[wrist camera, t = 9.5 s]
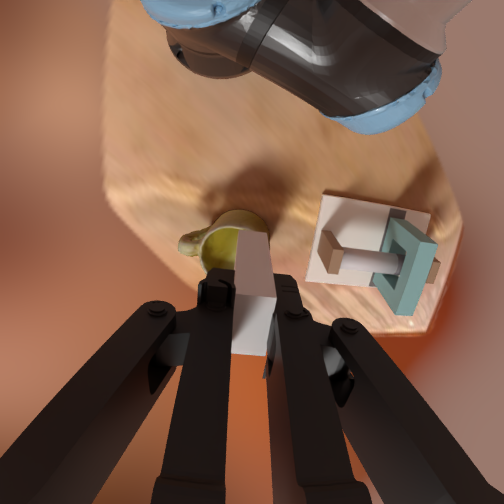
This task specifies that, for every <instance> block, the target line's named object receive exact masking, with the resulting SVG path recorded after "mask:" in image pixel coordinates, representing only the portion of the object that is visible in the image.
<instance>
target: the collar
mask: <svg viewBox="0 0 504 504" xmlns="http://www.w3.org/2000/svg"><path fill="white" fill-rule="evenodd" d="M437 247H438V244H437V243H436V242H434V241H433V240H432V239H431V238H429V237H428V236H427V235H425V234H424V233H423V232H422V231H420V230H419V229H418V228H416V227H415V226H414V225H412V224H411V223H410V222H408V221H407V220H403V219H397V218H392V217H390V221H389V225H388V229H387V233H386V236H385V240H384V244H383V247H382V251H381V252H387V253H394V254H402V255H405V254H406V256H405V260H404V263H403V266H402V269H401V272H400V275H394V274H385V273H375V275H374V278H373V283H374V284H375V285H376V287H377V288H378V290H379V291H380V293H381V294H382V296H383V297H384V299H385V300H386V302H387V303H388V305H389V307H390V308H391V310H392V311H393V313H394V314H395V315H403V316H413V313H414V311H415V308H416V306H417V303H418V301H419V298H420V295H421V293H422V290H423V287H424V285H425V282H426V279H427V276H428V274H429V271H430V268H431V265H432V262H433V259H434V256H435V253H436V250H437ZM406 251H407V253H406Z"/></svg>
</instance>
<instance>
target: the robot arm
mask: <svg viewBox="0 0 504 504" xmlns="http://www.w3.org/2000/svg"><path fill="white" fill-rule="evenodd" d="M140 1H141V3H142V4H143V7H144V9H145V10H146V11H147V13H148V14H149V15H150V17H151V18H152V19H154V20H156V21H157V22H158V23H159V24H161V25H162V26H163V27H164V28H165V29H166V34H167V41H168V44H169V47H170V49H171V51H172V53H173V55H174V56H175V57H176V59H177V60H178V61H179V62H180V63H181V64H182V65H184V66H185V67H186V68H187V69H189V70H190V71H192V72H194V73H196V74H198V75H201V76H204V77H208V78H213V79H229V78H235V77H239V76H242V75H245V74H247V73H249V72H251V71H253V72H255V73H257V74H259V75H261V76H262V77H264V78H266V79H268V80H270V81H271V82H273V83H275V84H277V85H278V86H280V87H282V88H284V89H285V90H287V91H289V92H290V93H292V94H294V95H295V96H297V97H299V98H300V99H302V100H304V101H305V102H307V103H308V104H310V105H312V106H313V107H315V108H316V109H318V110H319V112H320V113H321V114H322V115H323V116H325V117H326V118H330V119H331V120H335V121H337V122H339V123H340V124H342V125H343V126H345V127H347V128H348V129H350V130H351V131H353V132H356V133H360V134H365V135H372V134H378V133H382V132H385V131H388V130H390V129H392V128H394V127H396V126H398V125H400V124H401V123H403V122H405V121H406V120H407V119H409V118H410V117H412V116H413V115H414V114H415V113H416V112H418V111H419V110H420V109H421V107H423V106H424V104H425V103H426V101H425V98H427V97H428V96H430V95H432V94H433V93H434V92H435V90H436V88H437V86H438V85H439V82H440V79H441V75H442V68H441V64H440V62H439V59H438V57H439V56H441V55H442V54H443V53H444V52H445V50H446V37H445V27H446V24H447V23H448V22H449V21H450V20H451V19H452V18H453V17H454V16H455V15H457V14H458V13H459V12H460V11H461V10H462V9H463V8H464V7H465V6H467V5H468V4H469V3H470V2H471V1H472V0H140ZM266 350H267V353H268V355H267V360H266V365H265V369H264V374H263V378H264V379H265V378H266V382H267V398H268V415H269V433H270V450H271V468H272V488H273V504H372V501H371V497H370V493H369V490H368V488H367V486H366V485H365V484H364V483H363V482H360V481H356V479H355V478H354V475H353V472H352V468H351V464H350V459H349V455H348V451H347V447H346V442H345V438H344V434H343V431H344V433H345V435H346V437H347V438H348V440H349V442H350V444H351V445H352V447H353V449H354V451H355V453H356V454H357V456H358V458H359V460H360V462H361V463H362V465H363V467H364V469H365V470H366V472H367V474H368V476H369V477H370V479H371V481H372V483H373V485H374V486H375V488H376V490H377V492H378V494H379V495H380V497H381V499H382V501H383V502H384V504H504V494H502V493H501V492H500V491H498V490H497V489H495V488H494V487H493V486H491V485H490V484H488V482H487V481H486V480H485V478H484V477H483V476H482V474H481V473H480V471H479V470H478V469H477V467H476V466H475V465H474V464H473V462H472V461H471V459H470V458H469V457H468V455H467V454H466V453H465V452H464V450H463V449H462V447H461V446H460V445H459V444H458V442H457V441H456V440H455V438H454V437H453V436H452V435H451V433H450V432H449V431H448V429H447V428H446V427H445V425H444V424H443V423H442V422H441V420H440V419H439V418H438V416H437V415H436V414H435V413H434V411H433V410H432V409H431V408H430V406H429V405H428V404H427V402H426V401H425V400H424V399H423V397H422V396H421V395H420V394H419V393H418V391H417V390H416V389H415V388H414V386H413V385H412V384H411V383H410V381H409V380H408V379H407V378H406V376H405V375H404V374H403V373H402V371H401V370H400V369H399V368H398V367H397V365H396V364H395V363H394V362H393V360H392V359H391V358H390V357H389V356H388V354H387V353H386V352H385V351H384V350H383V348H382V347H381V346H380V345H379V344H378V342H377V341H376V340H375V339H374V338H373V336H372V335H371V334H370V333H369V332H368V331H367V329H366V328H365V327H364V326H363V325H362V324H361V323H360V322H358V321H356V320H354V319H350V318H338V319H336V320H334V321H333V323H332V326H329V325H325V324H321V323H318V322H316V321H314V320H313V318H312V315H311V313H310V312H309V311H308V310H307V309H306V308H304V307H303V304H302V301H301V297H300V293H299V289H298V286H297V282H296V280H295V279H294V278H293V277H292V276H291V275H285V274H275V273H273V269H272V263H271V256H270V250H269V243H268V237H267V233H264V232H255V231H246V230H239V232H238V240H237V249H236V257H235V266H234V270H230V269H221V268H212V269H211V270H210V271H208V272H207V276H206V278H205V279H203V280H201V281H200V282H199V284H198V298H197V307H195V308H193V309H191V310H188V311H179V312H176V310H175V307H174V306H173V305H172V304H170V303H168V302H164V301H150V302H146V303H144V304H143V305H141V306H140V307H139V309H137V310H136V311H135V312H134V313H133V314H132V315H131V316H130V317H129V319H127V320H126V322H125V323H124V324H123V325H122V326H121V327H120V328H119V329H118V330H117V331H116V332H115V333H114V334H113V335H112V336H111V337H110V338H109V339H108V340H107V341H106V342H105V343H104V344H103V345H102V346H101V348H99V350H98V351H96V353H95V354H94V355H93V356H92V357H91V358H90V359H89V360H88V361H87V362H86V363H85V364H84V365H83V366H82V367H81V368H80V370H79V371H78V372H77V373H76V374H75V375H74V376H73V377H72V378H71V379H70V380H69V381H68V383H66V385H65V386H64V387H63V388H62V389H61V390H60V391H59V392H58V393H57V394H56V395H55V397H54V398H53V399H52V400H51V401H50V402H49V403H48V405H46V406H45V408H44V409H43V410H42V411H41V412H40V413H39V414H38V415H37V417H36V418H35V419H34V420H33V421H32V422H31V423H30V425H29V426H28V427H27V428H26V429H25V430H24V431H23V432H22V434H21V435H20V436H19V437H18V438H17V439H16V441H15V442H14V443H13V444H12V445H11V446H10V448H9V449H8V450H7V451H6V452H5V453H4V454H3V456H2V457H1V458H0V504H92V502H93V501H94V499H95V497H96V496H97V494H98V493H99V491H100V490H101V488H102V486H103V485H104V483H105V481H106V480H107V479H108V477H109V475H110V474H111V472H112V471H113V469H114V467H115V466H116V464H117V463H118V461H119V459H120V458H121V456H122V455H123V453H124V451H125V450H126V448H127V446H128V445H129V443H130V442H131V440H132V439H133V437H134V436H135V434H136V432H137V431H138V429H139V428H140V426H141V424H142V423H143V421H144V420H145V418H146V416H147V415H148V413H149V412H150V410H151V409H152V407H153V405H154V404H155V402H156V400H157V399H158V397H159V396H160V394H161V393H162V391H163V389H164V388H165V386H166V385H167V383H168V382H169V380H170V378H171V376H172V375H173V374H174V372H175V370H176V367H177V366H179V365H183V367H182V372H181V376H180V381H179V386H178V391H177V395H176V400H175V404H174V409H173V414H172V419H171V424H170V429H169V434H168V439H167V444H166V449H165V454H164V459H163V465H162V470H161V474H160V476H158V477H157V478H156V481H155V485H154V488H153V493H152V499H151V504H225V493H226V491H225V490H226V488H225V464H226V441H227V421H228V420H227V419H228V402H229V382H230V365H231V353H235V354H246V355H258V356H265V354H266ZM350 372H352V374H353V376H354V377H353V376H352V374H351V373H350ZM342 429H343V430H342Z"/></svg>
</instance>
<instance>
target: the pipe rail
mask: <svg viewBox="0 0 504 504" xmlns="http://www.w3.org/2000/svg"><path fill="white" fill-rule="evenodd" d="M390 217H392V218H397V219H403V220H407V221H408V222H410V223H411V224H412V225H414V226H415V227H416V228H418V229H419V230H420V231H422V232H423V233H424V234H425V235H426V232H427V228H428V225H429V221H430V217H431V214H429V213H425V212H420V211H416V210H411V209H406V208H401V207H396V206H390V205H385V204H380V203H374V202H369V201H363V200H357V199H352V198H346V197H340V196H333V195H327V194H322V198H321V203H320V208H319V213H318V218H317V223H316V228H315V233H314V238H313V243H312V248H311V253H310V257H309V262H308V267H307V271H306V276H305V281H309V282H319V283H330V284H340V285H351V286H363V287H374V288H377V287H376V285H375V284H374V283H373V278H374V275H375V273H385V274H394V275H400V272H401V269H402V266H403V263H404V260H405V256H406V254H405V255H402V254H394V253H387V252H381V251H382V247H383V244H384V240H385V236H386V233H387V229H388V225H389V221H390ZM406 253H407V251H406ZM440 264H441V263H440V262H439V261H438V260H437V259H436V258H435V257H434V259H433V262H432V265H431V268H430V271H429V274H428V276H427V279H426V282H425V283H430V284H433V283H434V281H435V278H436V275H437V272H438V270H439V267H440Z"/></svg>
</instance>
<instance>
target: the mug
mask: <svg viewBox="0 0 504 504" xmlns="http://www.w3.org/2000/svg"><path fill="white" fill-rule="evenodd" d="M239 230H246V231H255V232H264V233H267V237H268V243H269V242H270V235H269V230H268V228H267V226H266V224H265V222H264V221H263V220H262V219H261V218H260V217H259V216H258V215H256V214H254V213H252V212H250V211H247V210H240V209H239V210H230V211H227V212H225V213H224V214H222V215H221V216H220V217H219V218H218V219H217V221H216V222H215V223H214V224H213V225H212V226H210V227H207V228H205V229H202V230H200V231H193V232H191V233H189V234H185V235H183V236H182V237H181V238H180V240H179V243H178V251H179V252H180V253H181V254H184V255H186V256H191V257H193V256H199V258H200V264H201V266H202V269H203V270H204V272H205V273H206V275H207V272H208V271H210V270H211V269H212V268H221V269H230V270H234V266H235V257H236V249H237V240H238V232H239ZM269 250H270V243H269Z"/></svg>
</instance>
